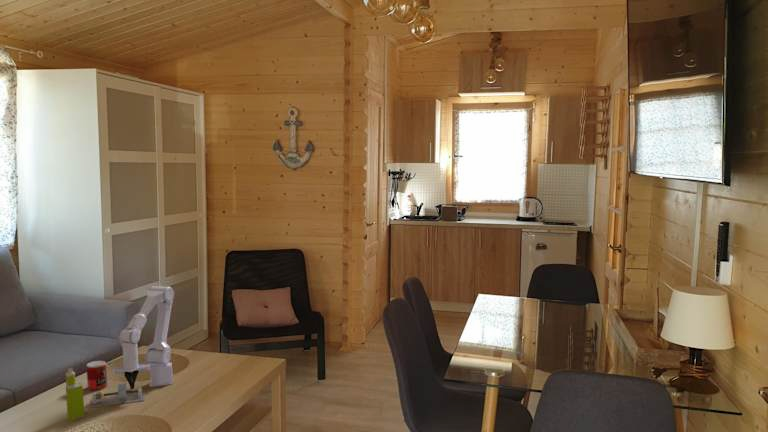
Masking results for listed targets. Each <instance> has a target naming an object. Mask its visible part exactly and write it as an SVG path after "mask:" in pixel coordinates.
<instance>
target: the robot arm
mask: <svg viewBox="0 0 768 432" xmlns="http://www.w3.org/2000/svg"><path fill="white" fill-rule="evenodd" d="M174 291H175V290H174V289H173V288H172V287H171V286H159V285H157V286H156V285H151V286H149V288H148V290H147V291H146V299H145V301H144V303H143V305H142V306H141V309H140V311H139V312H138V313H136V314H134V316H132V318H131V320H130V321H129V322H128V325H127V326H126V328H125V329H122V331H120V333H119V336H118V341H119V342H120V345H121V347H122V359H123V366H121V367H120V366H119V367H117V368H112V369H111V370H112V372H111V373H112V375H116V374H124V377H125V379H126V380H127V382H128V384H129V388H130V389H129V390H135V386H136V385H135V383H136V380H137V377H138V376H139V372H141V371H142V372H143V371H149V374H150V380H149V381H150V382H149V388H152V387H153V388H154V387H160V386H166V385H167V386H168V385H173V379H174V374H173V364H172V362H170V361H171V358H172V355H171V354H172V353H171V349H172V348H171V346H170V345H169V344H168V343H167V338H168V332H169V325H170V318H171V313H172V307H173V304H174V303H173V302H174V297H175V292H174ZM155 306H157V307H158V312H157V318H156V323H155V331H154V337H153V342H152V343H150V344H149V345H148V346H147V351H146V352H145V355H144V356H145V357H144V359H145V361H146V362H147V364H139V352H138V351H139V350H138V349H139V348H138V347H139V346H138V343H139V341H140V338H141V334H142V330H143V328H144V327H145V325H146V323H147V321H148V319H147V316H148V315H149V314H150V312H151V311H152V310H153V308H154V307H155Z"/></svg>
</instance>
